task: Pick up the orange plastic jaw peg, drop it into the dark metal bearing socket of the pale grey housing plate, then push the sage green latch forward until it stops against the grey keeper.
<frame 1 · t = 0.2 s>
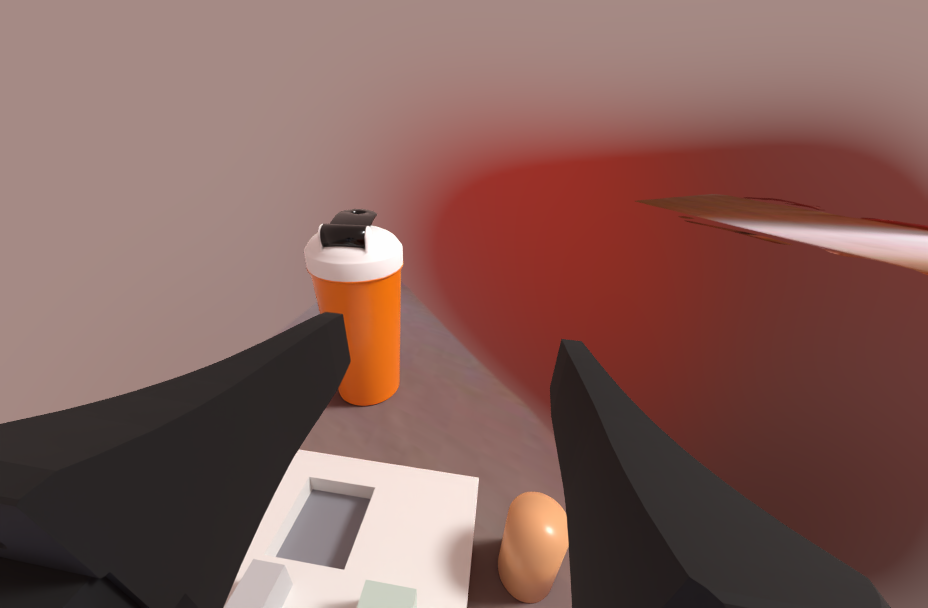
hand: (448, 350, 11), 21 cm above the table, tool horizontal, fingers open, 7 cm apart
housing: (349, 588, 22), on the table
shaker bottle: (369, 385, 39), on the table
jaw peg: (525, 568, 24), on the table
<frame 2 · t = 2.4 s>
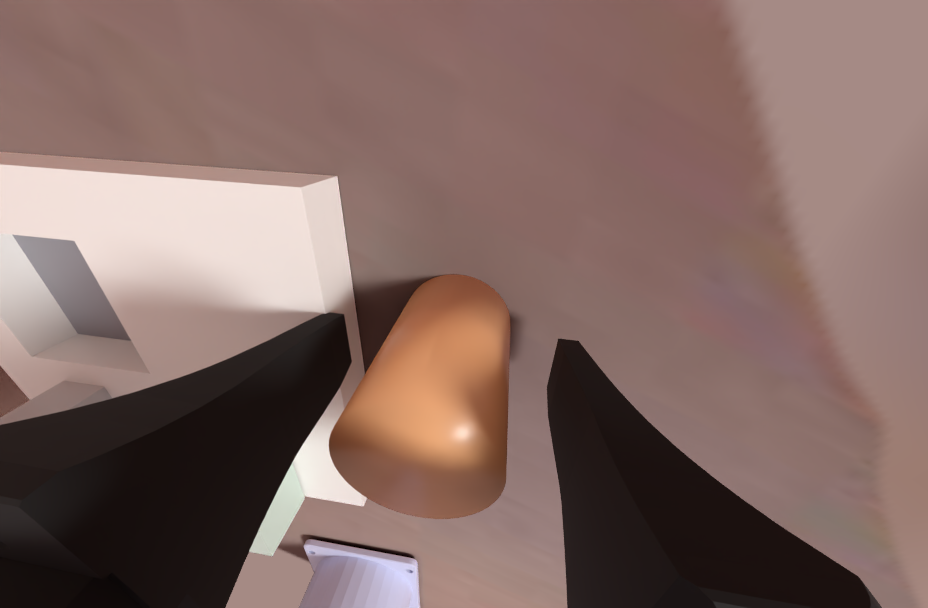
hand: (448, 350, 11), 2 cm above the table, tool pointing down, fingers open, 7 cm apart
housing: (197, 348, 15), on the table
latch: (240, 481, 14), point 3 cm above the table, slide at 0.0 cm
jaw peg: (457, 322, 12), on the table
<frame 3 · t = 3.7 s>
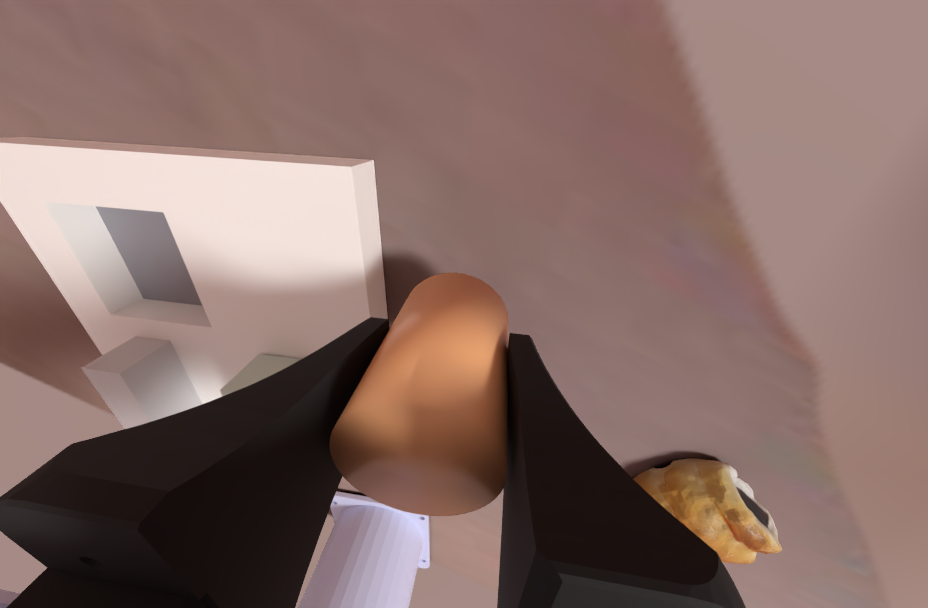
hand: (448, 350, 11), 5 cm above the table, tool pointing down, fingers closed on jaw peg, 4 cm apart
housing: (246, 310, 18), on the table
pastry: (673, 489, 21), on the table
latch: (286, 419, 17), point 3 cm above the table, slide at 0.0 cm
jaw peg: (455, 320, 12), point 3 cm above the table, touching gripper
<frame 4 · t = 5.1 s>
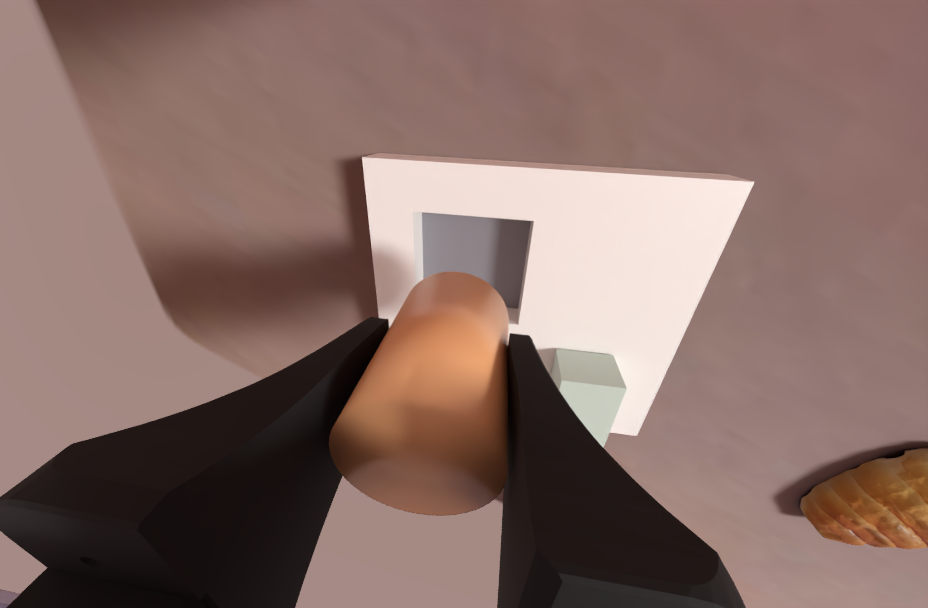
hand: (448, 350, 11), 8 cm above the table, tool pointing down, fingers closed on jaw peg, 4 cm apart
housing: (521, 309, 19), on the table
pastry: (885, 478, 22), on the table
latch: (576, 408, 18), point 3 cm above the table, slide at 0.0 cm
jaw peg: (455, 319, 12), point 7 cm above the table, touching gripper
when the fingers open (3 cm above the table, at t = 6.5 s): jaw peg stays where it is, resting on housing.
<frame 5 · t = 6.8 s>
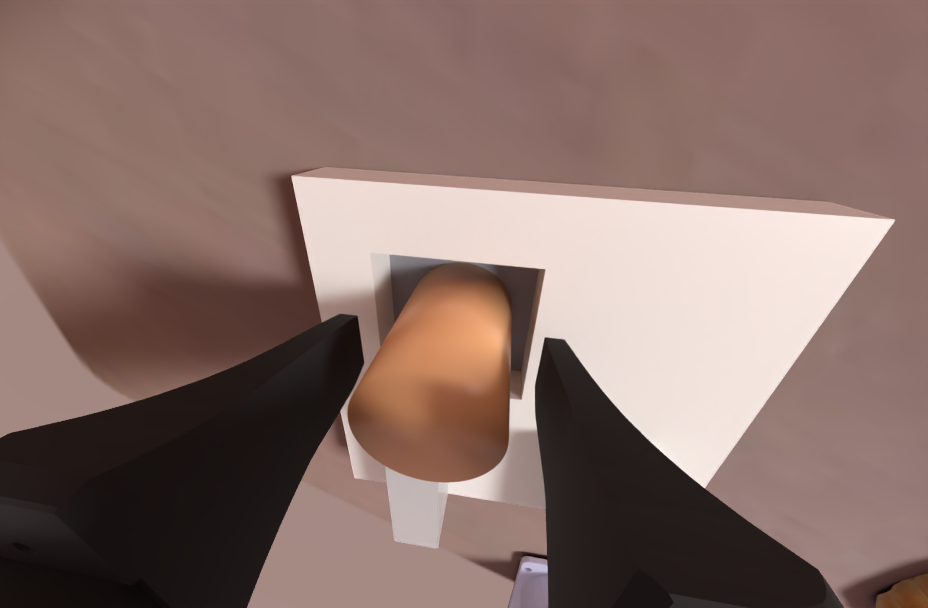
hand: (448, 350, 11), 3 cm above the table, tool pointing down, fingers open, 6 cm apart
housing: (524, 370, 15), on the table
jaw peg: (461, 308, 13), resting on housing
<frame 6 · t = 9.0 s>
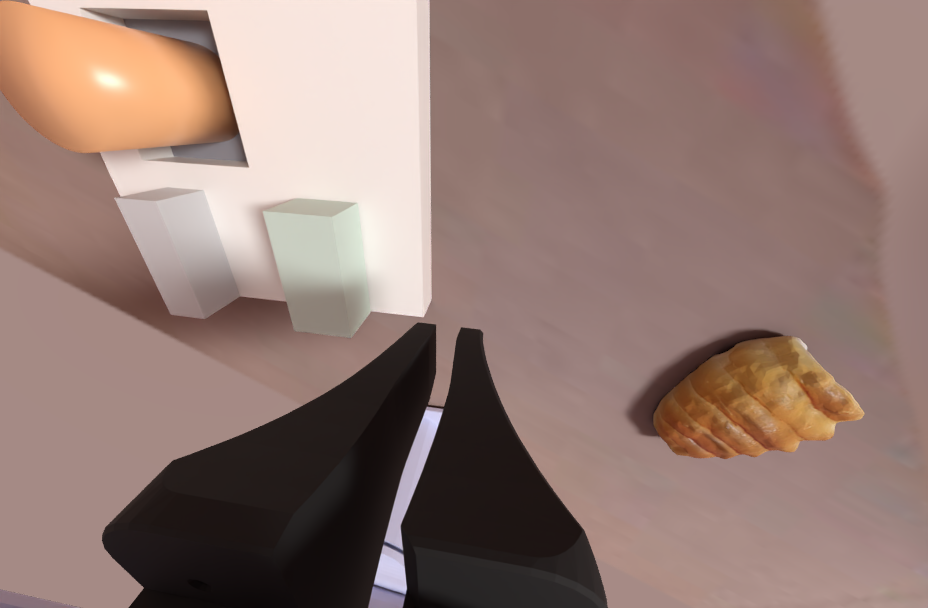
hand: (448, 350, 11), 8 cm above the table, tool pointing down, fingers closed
housing: (280, 167, 17), on the table
pastry: (735, 384, 20), on the table
latch: (324, 269, 16), point 3 cm above the table, slide at 0.0 cm
jaw peg: (203, 95, 16), resting on housing
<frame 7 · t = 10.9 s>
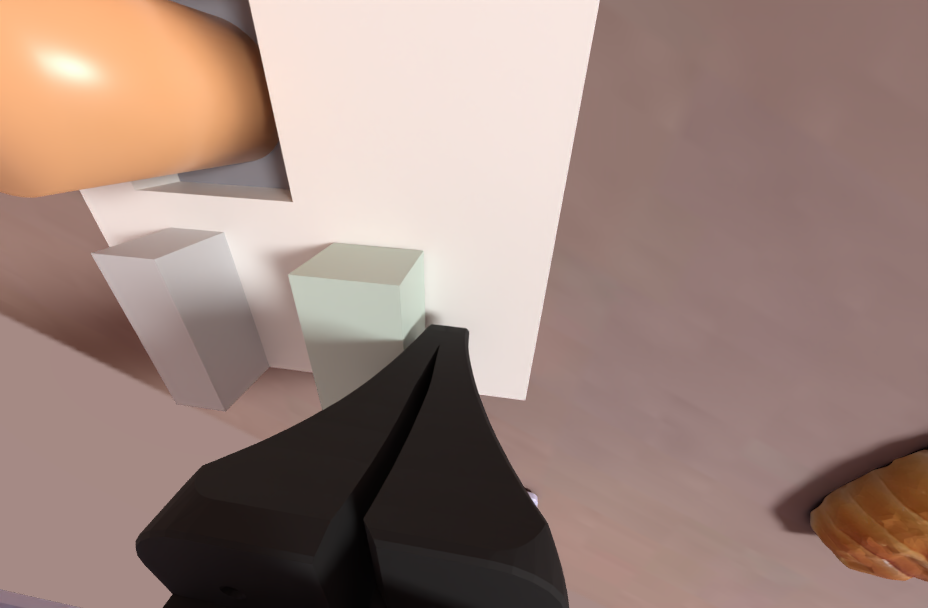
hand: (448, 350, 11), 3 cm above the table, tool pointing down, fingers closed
housing: (331, 195, 12), on the table
latch: (372, 344, 11), point 3 cm above the table, slide at 1.0 cm, touching gripper
jaw peg: (224, 94, 11), resting on housing
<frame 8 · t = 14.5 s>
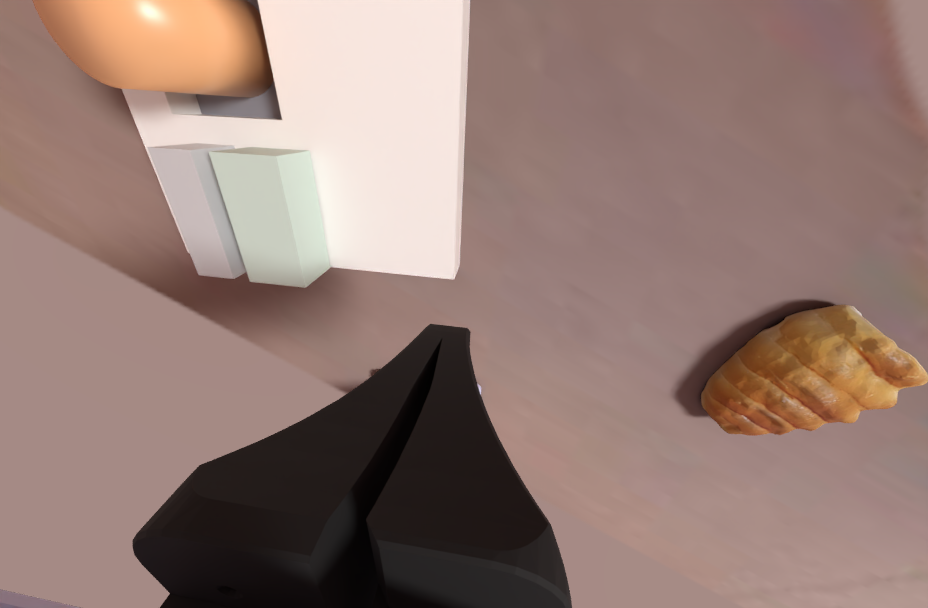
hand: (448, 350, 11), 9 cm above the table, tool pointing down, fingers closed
housing: (310, 124, 17), on the table
pastry: (785, 359, 20), on the table
latch: (278, 218, 16), point 3 cm above the table, slide at 4.1 cm
jaw peg: (235, 47, 15), resting on housing
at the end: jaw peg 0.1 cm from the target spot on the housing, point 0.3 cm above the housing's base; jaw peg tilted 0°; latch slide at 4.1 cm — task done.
